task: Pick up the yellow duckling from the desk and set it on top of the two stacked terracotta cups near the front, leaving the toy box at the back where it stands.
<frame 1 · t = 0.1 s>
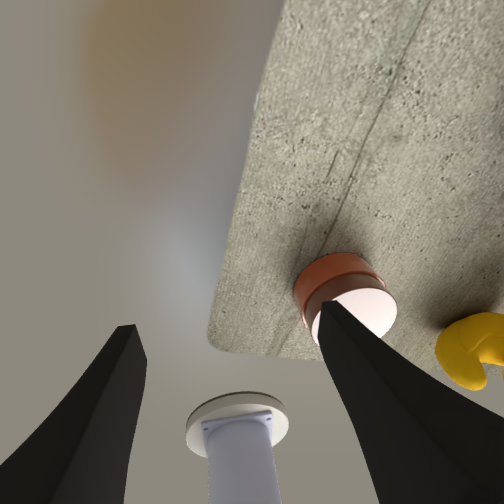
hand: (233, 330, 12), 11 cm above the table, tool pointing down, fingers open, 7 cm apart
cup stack: (332, 286, 26), on the table
duckling: (467, 320, 32), on the table
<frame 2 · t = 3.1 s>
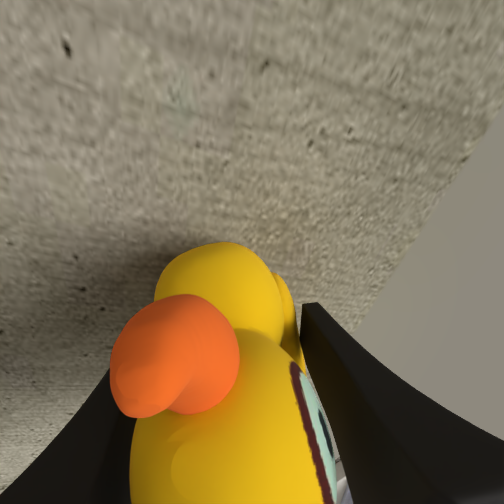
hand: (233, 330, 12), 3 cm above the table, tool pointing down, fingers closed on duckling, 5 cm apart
duckling: (226, 282, 14), on the table, touching gripper
when the fingers open (7 cm above the table, at t = 7.0 s): duckling stays where it is, resting on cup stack.
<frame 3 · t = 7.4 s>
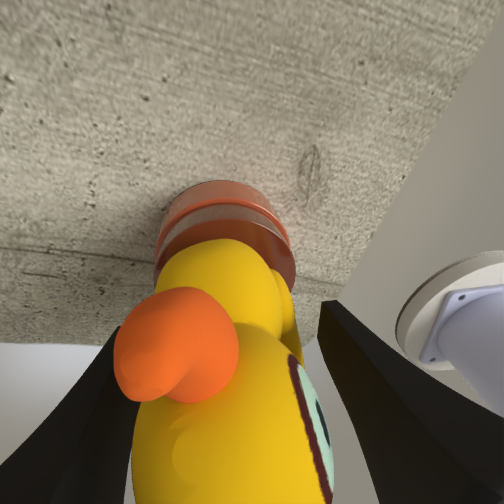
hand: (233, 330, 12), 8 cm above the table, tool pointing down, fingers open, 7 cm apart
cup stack: (221, 237, 18), on the table
duckling: (225, 279, 14), point 4 cm above the table, touching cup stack
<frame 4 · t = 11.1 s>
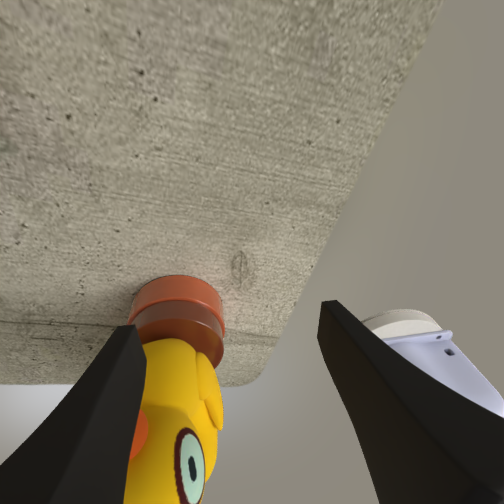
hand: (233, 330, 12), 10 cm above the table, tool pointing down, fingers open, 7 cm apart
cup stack: (178, 310, 24), on the table
duckling: (174, 351, 21), point 4 cm above the table, touching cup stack
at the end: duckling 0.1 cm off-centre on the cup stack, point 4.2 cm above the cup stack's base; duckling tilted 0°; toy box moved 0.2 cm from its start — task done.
